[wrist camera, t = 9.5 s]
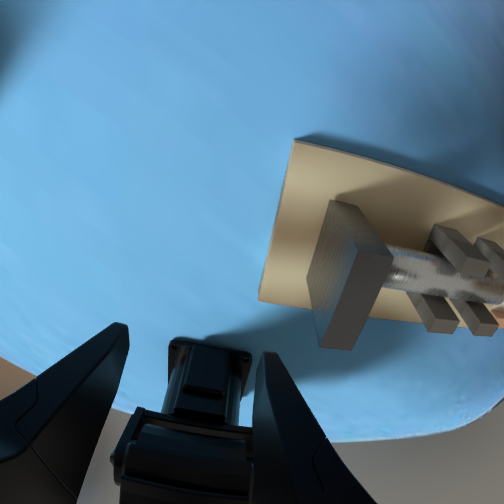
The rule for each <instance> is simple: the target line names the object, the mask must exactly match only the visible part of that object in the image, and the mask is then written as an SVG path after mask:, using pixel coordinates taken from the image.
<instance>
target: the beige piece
mask: <svg viewBox="0 0 504 504" xmlns="http://www.w3.org/2000/svg"><path fill="white" fill-rule="evenodd" d="M330 199H331V200H336V201H340V202H344V203H349V204H353V205H357V206H358V207H359V209H360V210H361V211H362V213H363V214H364V215H365V217H366V218H367V220H368V221H369V222H370V224H371V225H372V226H373V228H374V229H375V231H376V232H377V233H378V235H379V236H380V238H381V239H382V241H383V242H384V243H387V244H392V245H396V246H401V247H405V248H410V249H414V250H418V251H423V252H427V253H431V254H436V255H440V256H444V257H446V258H447V259H448V260H449V261H450V262H451V264H452V265H453V266H454V267H455V268H456V269H457V271H458V272H459V273H461V274H465V275H470V276H475V277H479V278H484V277H485V275H486V273H487V271H488V269H489V268H491V270H492V271H493V272H494V273H495V274H496V275H497V276H498V277H499V278H500V279H501V280H502V281H503V282H504V206H502V205H500V204H498V203H496V202H493V201H491V200H488V199H486V198H484V197H481V196H479V195H476V194H474V193H471V192H469V191H466V190H464V189H461V188H458V187H456V186H453V185H450V184H448V183H445V182H442V181H439V180H437V179H434V178H431V177H428V176H425V175H422V174H419V173H416V172H413V171H410V170H407V169H404V168H401V167H398V166H394V165H391V164H388V163H385V162H381V161H378V160H374V159H371V158H367V157H364V156H360V155H357V154H353V153H349V152H345V151H342V150H338V149H334V148H330V147H326V146H322V145H318V144H313V143H309V142H305V141H300V140H296V139H293V143H292V147H291V152H290V156H289V161H288V165H287V170H286V174H285V178H284V183H283V187H282V192H281V196H280V200H279V205H278V209H277V213H276V218H275V222H274V226H273V231H272V235H271V239H270V244H269V248H268V252H267V256H266V261H265V265H264V269H263V273H262V278H261V282H260V286H259V290H258V301H261V302H267V303H273V304H279V305H286V306H292V307H299V308H306V309H312V306H311V301H310V296H309V290H308V285H307V280H306V277H307V273H308V270H309V267H310V264H311V261H312V257H313V254H314V251H315V248H316V244H317V241H318V238H319V234H320V231H321V228H322V224H323V221H324V217H325V214H326V210H327V207H328V203H329V200H330ZM492 307H493V304H486V303H480V302H473V301H466V300H460V299H453V298H447V297H440V296H434V295H428V294H421V293H415V292H409V291H403V290H396V289H390V288H384V287H382V288H381V290H380V292H379V294H378V297H377V299H376V301H375V303H374V305H373V307H372V310H371V312H370V314H369V316H368V317H372V318H380V319H388V320H397V321H406V322H415V323H424V325H425V327H426V329H427V331H428V332H433V333H445V334H453V332H454V331H455V329H456V327H467V328H469V329H470V331H471V332H472V334H473V335H474V336H491V337H492V336H493V334H494V333H495V331H496V330H497V328H498V326H499V324H498V322H497V321H496V319H495V318H494V317H493V315H492V314H491V313H490V311H491V309H492Z"/></svg>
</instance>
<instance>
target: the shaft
mask: <svg viewBox="0 0 504 504" xmlns="http://www.w3.org/2000/svg"><path fill="white" fill-rule="evenodd" d="M306 280H307V285H308V290H309V296H310V301H311V306H312V311H313V317H314V322H315V327H316V333H317V339H318V344H319V347H321V348H330V349H340V350H350V351H351V350H352V348H353V346H354V344H355V342H356V340H357V338H358V336H359V334H360V332H361V330H362V328H363V326H364V324H365V322H366V320H367V318H368V316H369V314H370V312H371V310H372V307H373V305H374V303H375V301H376V299H377V297H378V294H379V292H380V290H381V288H382V287H384V288H390V289H396V290H403V291H409V292H415V293H421V294H428V295H434V296H440V297H447V298H453V299H460V300H466V301H473V302H480V303H486V304H493V305H499V304H501V303H503V302H504V282H503V281H502V280H501V279H500V278H499V277H498V276H497V275H496V274H495V273H494V272H493V271H492V270H491V268H489V269H488V271H487V273H486V275H485V277H484V278H479V277H475V276H470V275H465V274H461V273H459V272H458V271H457V269H456V268H455V267H454V266H453V265H452V264H451V262H450V261H449V260H448V259H447V258H446V257H444V256H440V255H436V254H431V253H427V252H423V251H418V250H414V249H410V248H405V247H401V246H396V245H392V244H387V243H384V242H383V241H382V239H381V238H380V236H379V235H378V233H377V232H376V231H375V229H374V228H373V226H372V225H371V224H370V222H369V221H368V220H367V218H366V217H365V215H364V214H363V213H362V211H361V210H360V209H359V207H358V206H357V205H353V204H349V203H344V202H340V201H336V200H331V199H330V200H329V203H328V207H327V210H326V214H325V217H324V221H323V224H322V228H321V231H320V234H319V238H318V241H317V244H316V248H315V251H314V254H313V257H312V261H311V264H310V267H309V270H308V273H307V277H306Z"/></svg>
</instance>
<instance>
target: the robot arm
mask: <svg viewBox="0 0 504 504" xmlns="http://www.w3.org/2000/svg"><path fill="white" fill-rule="evenodd" d="M174 345H175V346H174ZM129 346H130V342H129V331H128V326H127V325H126V324H123V323H118V322H114V323H112V324H111V325H110V326H108V327H107V328H105V329H104V330H102V331H101V332H99V333H98V334H97V335H95V336H94V337H92V338H91V339H89V340H88V341H87V342H85V343H84V344H82V345H81V346H79V347H78V348H77V349H75V350H74V351H72V352H71V353H69V354H68V355H67V356H65V357H64V358H62V359H61V360H60V361H58V362H57V363H55V364H54V365H52V366H51V367H50V368H48V369H47V370H45V371H44V372H43V373H41V374H40V375H38V376H37V377H36V379H35V378H34V379H33V380H31V381H30V382H29V383H27V384H26V385H24V386H23V387H21V388H20V389H18V390H17V391H16V392H14V393H12V394H10V395H9V396H7V397H5V398H4V399H2V400H0V504H76V502H77V499H78V496H79V493H80V490H81V487H82V484H83V481H84V478H85V475H86V472H87V470H88V467H89V464H90V461H91V458H92V455H93V453H94V450H95V447H96V445H97V442H98V439H99V437H100V434H101V431H102V429H103V426H104V424H105V421H106V419H107V416H108V413H109V411H110V408H111V406H112V403H113V401H114V398H115V396H116V393H117V390H118V387H119V383H120V380H121V376H122V372H123V369H124V365H125V362H126V358H127V355H128V351H129ZM176 346H177V347H176ZM244 358H247V359H244ZM251 364H252V355H251V354H250V353H248V352H242V351H235V350H229V349H223V348H217V347H212V346H206V345H201V344H195V343H190V342H185V341H180V340H171V341H170V343H169V346H168V388H167V392H166V395H165V399H164V403H163V407H162V410H161V413H159V412H154V411H150V410H146V409H145V408H142V407H137V408H136V410H135V412H134V414H132V415H131V417H130V419H129V422H128V423H127V426H126V428H125V430H124V432H123V434H122V436H121V438H120V440H119V442H118V444H117V446H116V448H115V450H114V451H113V452H112V454H111V456H110V462H111V463H112V465H113V467H114V482H115V484H116V485H117V486H120V501H119V504H377V503H376V502H375V501H374V500H373V498H372V497H371V496H370V495H369V494H368V493H367V491H366V490H365V489H364V488H363V486H362V485H361V484H360V483H359V482H358V480H357V479H356V478H355V477H354V475H353V474H352V473H351V472H350V470H349V469H348V468H347V467H346V465H345V464H344V463H343V461H342V460H341V459H340V457H339V455H338V454H337V452H336V451H335V449H334V448H333V446H332V445H331V443H330V441H329V440H328V438H326V435H325V433H324V432H323V430H322V428H321V427H320V425H319V423H318V422H317V420H316V418H315V417H314V415H313V413H312V412H311V410H310V408H309V407H308V405H307V403H306V402H305V400H304V398H303V397H302V395H301V393H300V391H299V390H298V388H297V386H296V385H295V383H294V381H293V380H292V378H291V376H290V374H289V373H288V371H287V369H286V368H285V366H284V364H283V362H282V361H281V359H280V357H279V356H278V354H277V353H276V352H271V351H263V352H262V355H261V358H260V361H259V365H258V368H257V373H256V383H255V393H254V403H253V415H252V427H244V426H238V422H239V409H240V401H241V399H242V395H243V392H244V388H245V385H246V381H247V378H248V374H249V371H250V367H251Z"/></svg>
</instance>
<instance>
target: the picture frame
mask: <svg viewBox="0 0 504 504" xmlns="http://www.w3.org/2000/svg"><path fill="white" fill-rule="evenodd" d="M490 313H491V314H492V315H493V317H494V318H495V319H496V321H497V322H498V324H499V326H498V328H504V302H503V303H501V304H499V305H493V307H492V309H491V311H490Z"/></svg>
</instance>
